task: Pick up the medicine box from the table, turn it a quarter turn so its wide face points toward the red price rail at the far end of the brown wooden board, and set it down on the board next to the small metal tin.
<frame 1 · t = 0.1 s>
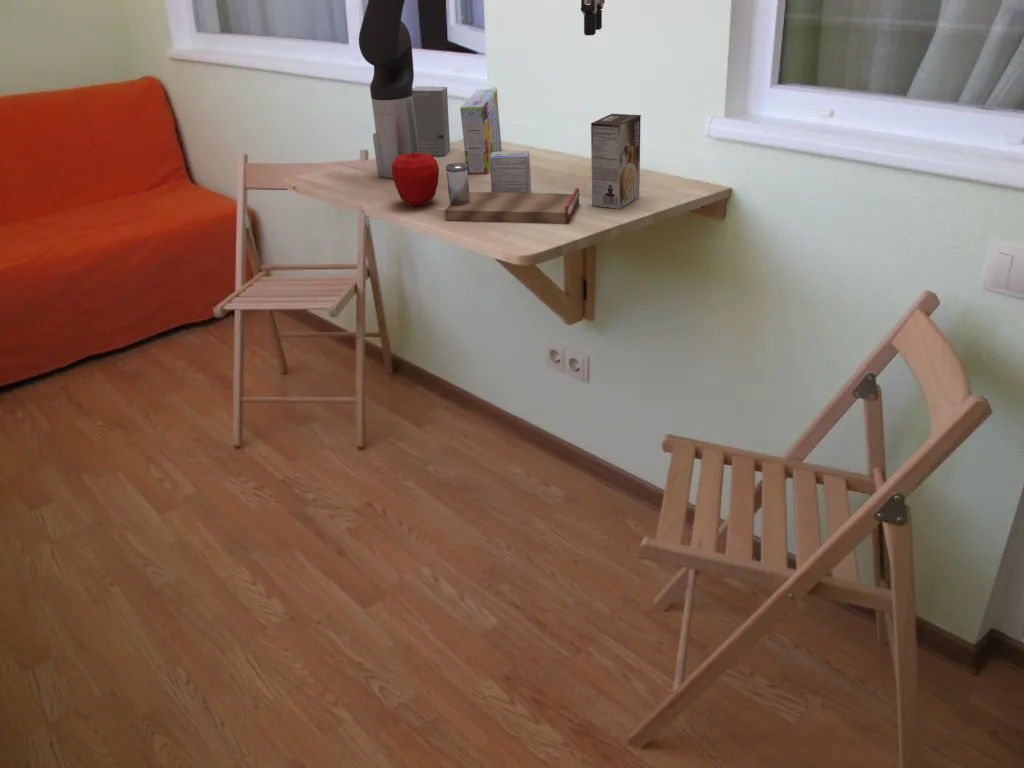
hand: (593, 32, 165), 29 cm above the table, tool pointing down, fingers open, 8 cm apart
coffee box: (615, 202, 162), on the table
brown wooden board: (513, 211, 160), on the table
apple: (418, 204, 168), on the table
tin: (459, 202, 160), point 2 cm above the table, touching brown wooden board
skincare box: (433, 154, 205), on the table
medicine box: (511, 196, 170), on the table
snack box: (484, 163, 195), on the table
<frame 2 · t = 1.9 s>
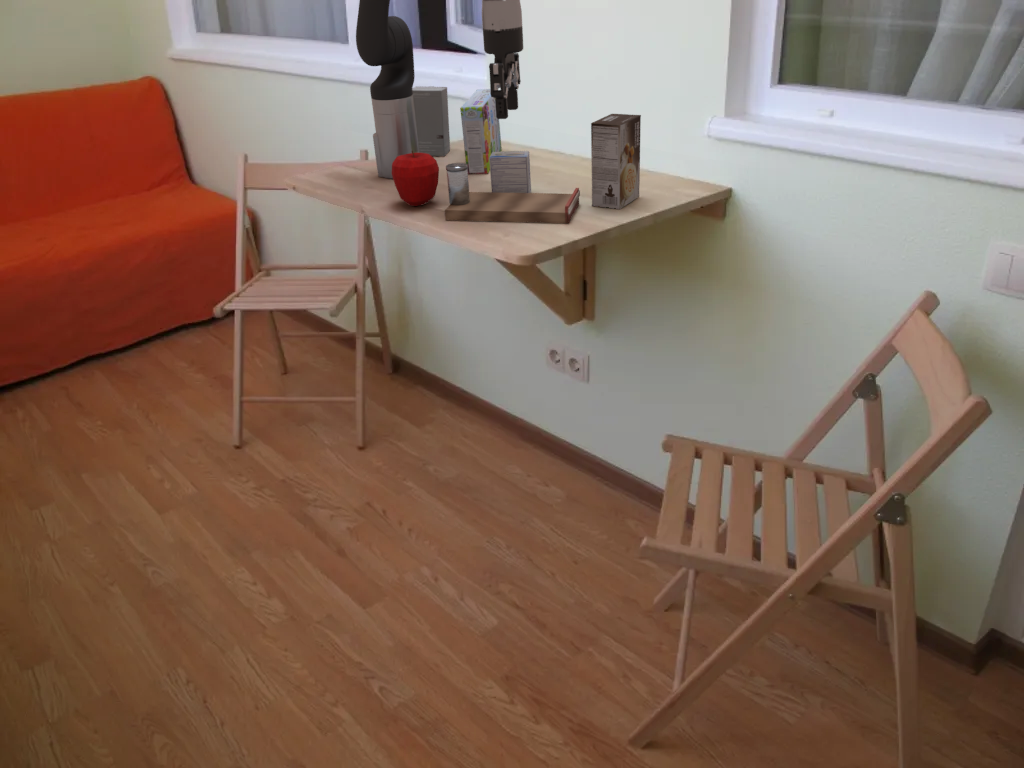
hand: (507, 114, 162), 16 cm above the table, tool pointing down, fingers open, 8 cm apart
nothing on the table moved.
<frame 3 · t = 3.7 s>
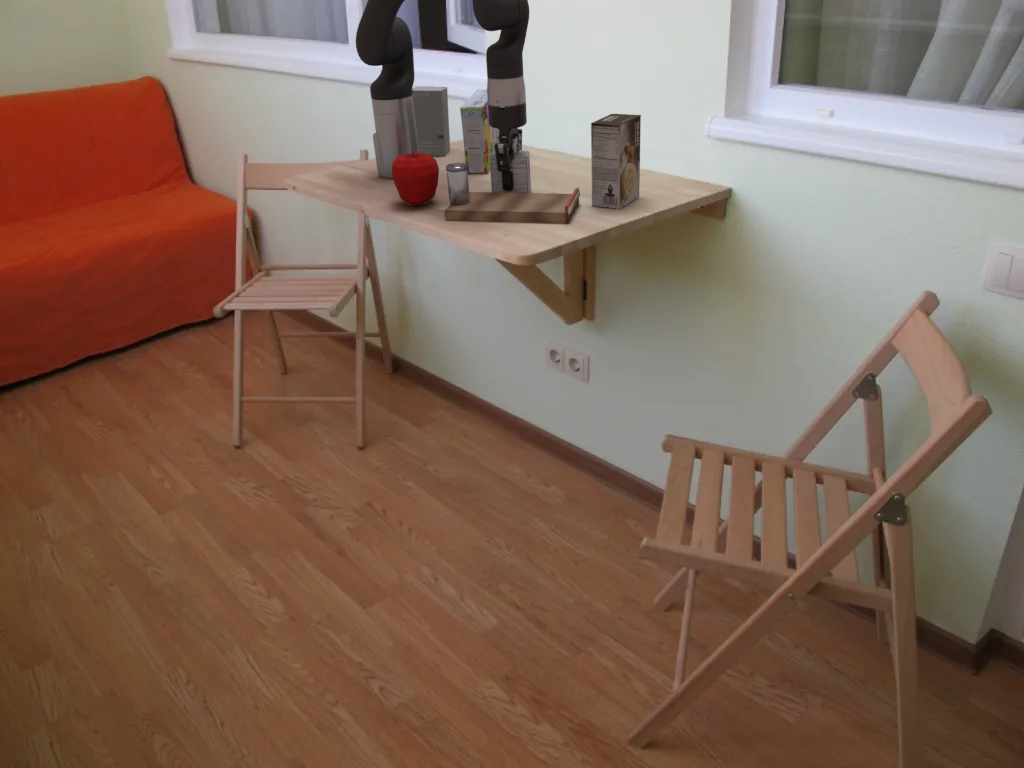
hand: (511, 185, 169), 2 cm above the table, tool pointing down, fingers closed on medicine box, 4 cm apart
medicine box: (511, 196, 170), on the table, touching gripper
everything else where it was.
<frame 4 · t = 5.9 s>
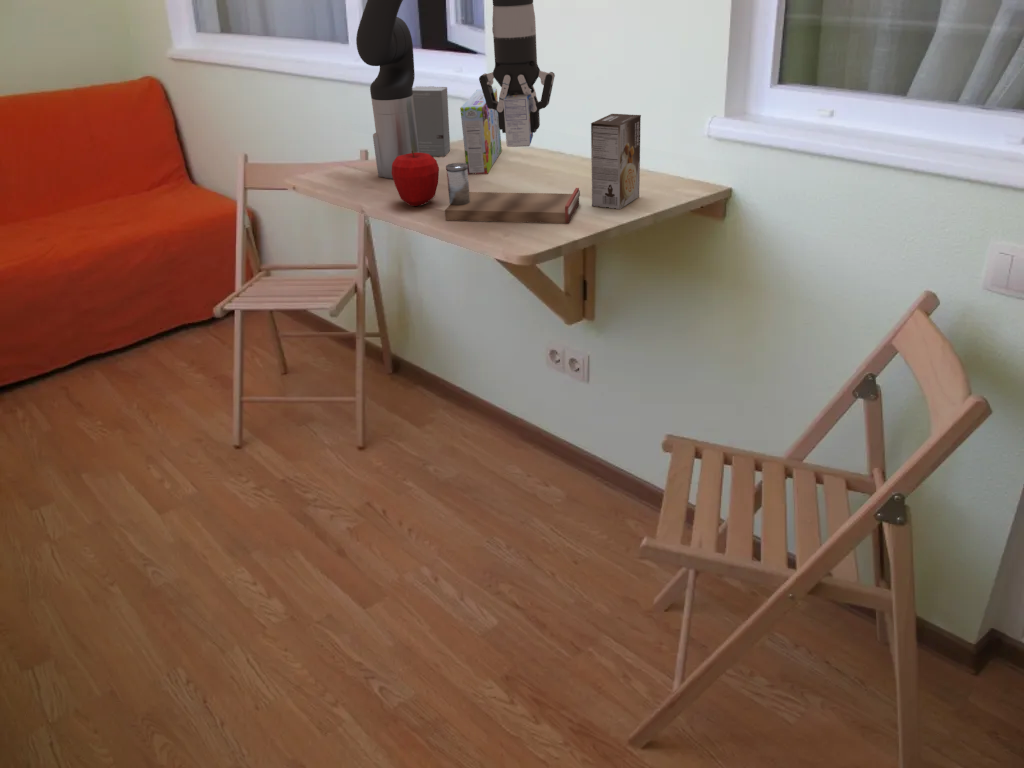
hand: (519, 131, 152), 15 cm above the table, tool pointing down, fingers closed on medicine box, 4 cm apart
medicine box: (520, 143, 153), point 13 cm above the table, touching gripper
everything else where it was.
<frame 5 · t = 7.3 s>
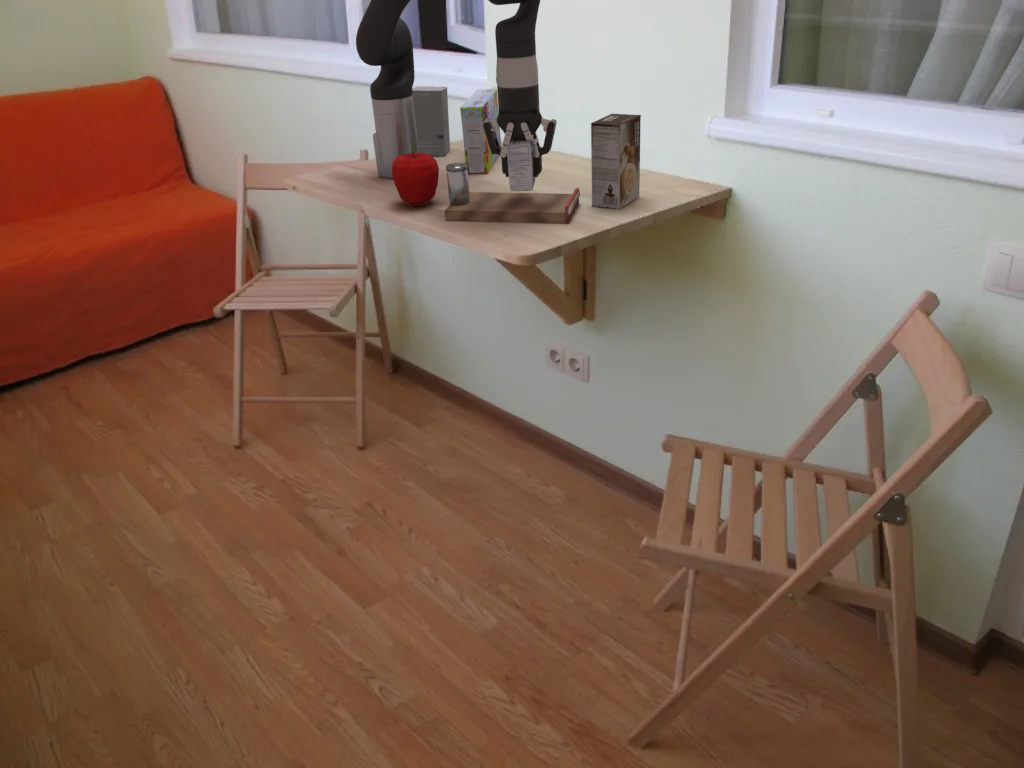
hand: (522, 175, 156), 7 cm above the table, tool pointing down, fingers closed on medicine box, 4 cm apart
medicine box: (522, 186, 157), point 5 cm above the table, touching gripper
everything else where it was.
when the fingers open (5 cm above the table, at t = 8.1 s): medicine box drops 1 cm, resting on brown wooden board.
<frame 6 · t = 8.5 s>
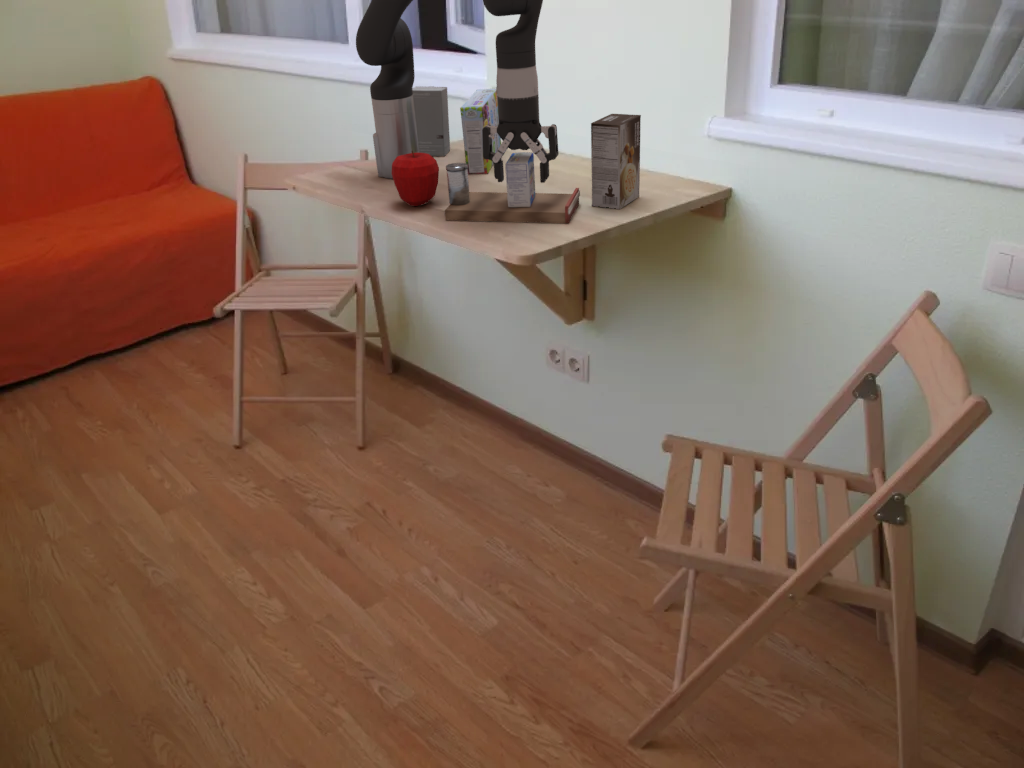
hand: (521, 181, 156), 6 cm above the table, tool pointing down, fingers open, 8 cm apart
medicine box: (521, 203, 158), point 2 cm above the table, touching brown wooden board
everything else where it was.
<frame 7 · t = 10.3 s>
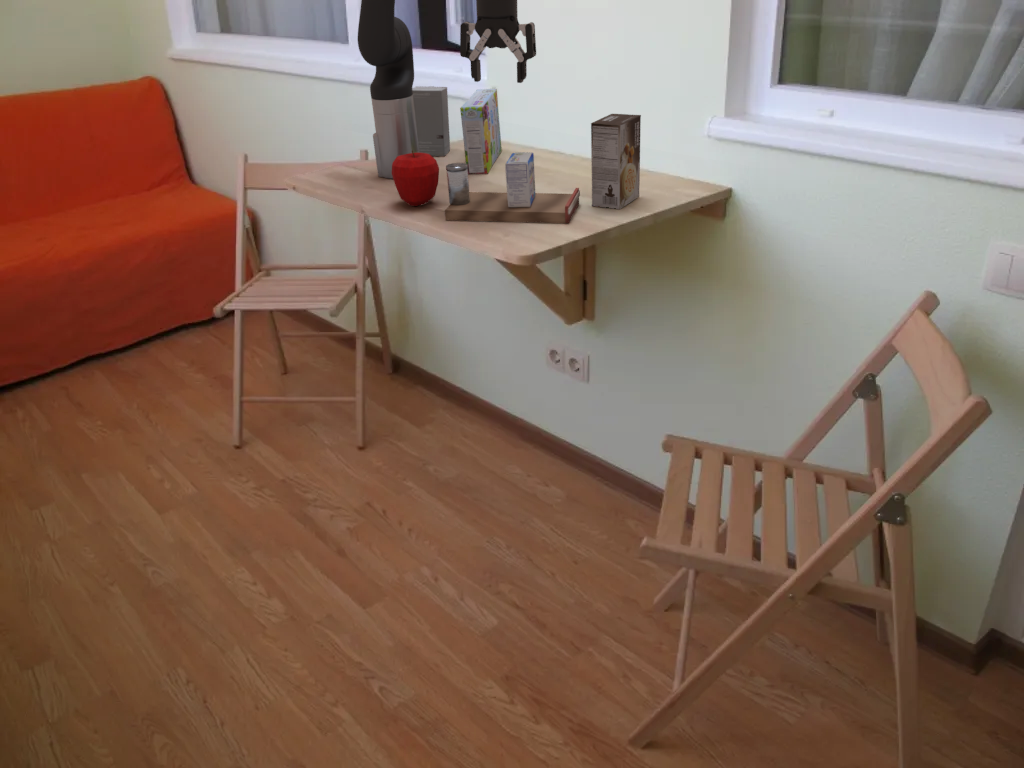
hand: (498, 81, 156), 23 cm above the table, tool pointing down, fingers open, 8 cm apart
nothing on the table moved.
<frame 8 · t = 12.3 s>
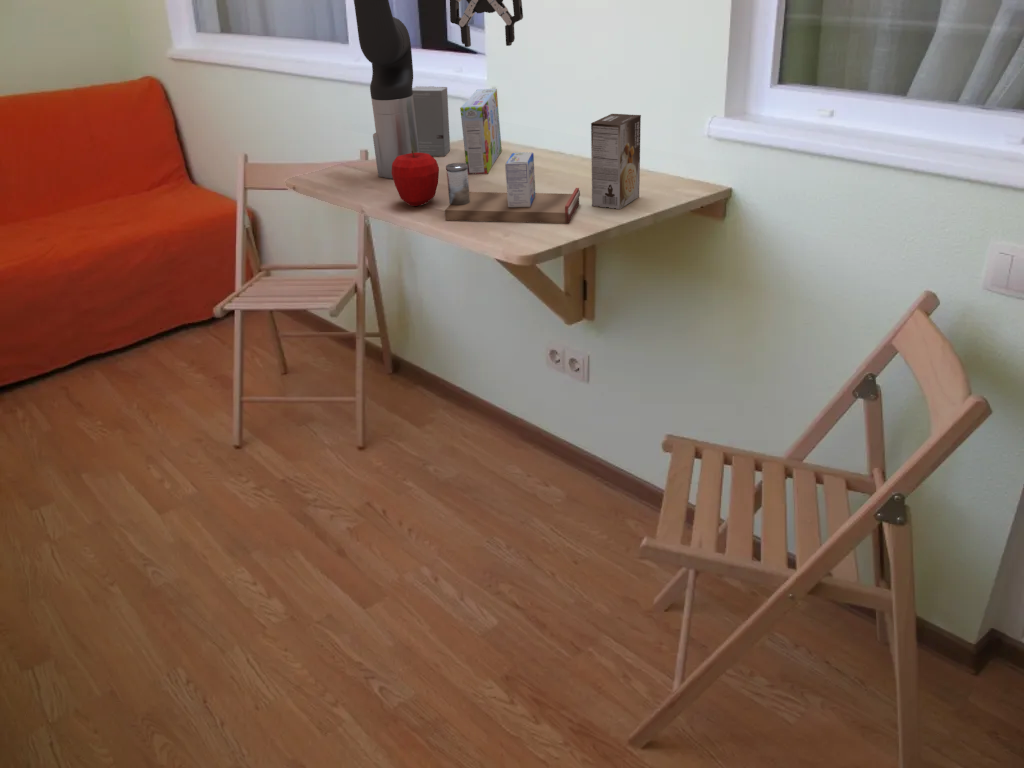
hand: (488, 46, 163), 28 cm above the table, tool pointing down, fingers open, 8 cm apart
nothing on the table moved.
at the end: medicine box inside the target area (0.2 cm from its centre), point 1.8 cm above the table; medicine box tilted 0°; the gripper is holding nothing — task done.
